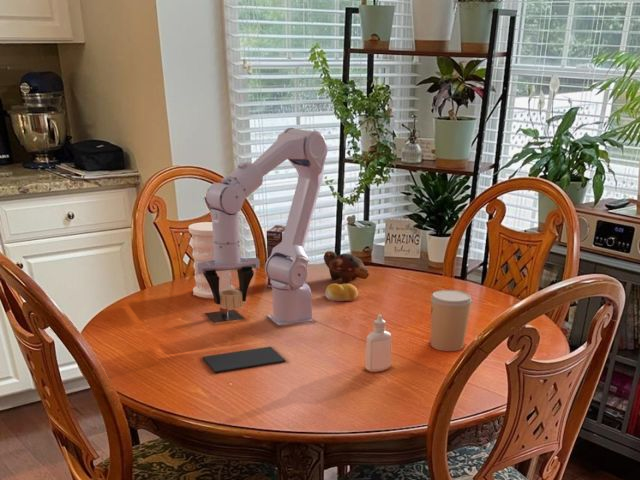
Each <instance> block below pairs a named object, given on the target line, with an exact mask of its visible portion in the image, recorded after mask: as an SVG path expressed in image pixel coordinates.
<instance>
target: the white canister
mask: <svg viewBox="0 0 640 480" xmlns="http://www.w3.org/2000/svg"><path fill="white" fill-rule="evenodd" d="M430 301H431V304H430V306H431V307H430V345H431V347H432V348H434V349H436V350H439V351H444V352H455V351H460V350H461V349H462V350H463V347H464V344H465V339H466V334H467V329H468V322H469V318H470V311H471V305H472V302H473V298H472V296H471V294H470V293H468V292H465V291H462V290H457V289H441V290H436V291H434V292H433V293H432V294H431V296H430Z"/></svg>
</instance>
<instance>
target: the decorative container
mask: <svg viewBox="0 0 640 480" xmlns="http://www.w3.org/2000/svg"><path fill="white" fill-rule="evenodd" d="M188 233H189V234H190V235H191V240H190V244H191V246H192V253H191V255H192V258H193V270H194V272H195V273H194V281H195V284H196V285H195V286H194V287H193V288H192V294H193V296H197V297H199V298H205V299H214V297H213V293H212V291H211V288H210V286H209V284H208V282H207V280H206V278H205V276H204V274H203V273H202V274H198V273H197V272H196V268H195V263H202V262H207V261H212V260H215V255H214V241H213V228H212V221H204V222H203V221H201V222H194V223H191V224H189V225H188ZM216 273H217V276H218V277H219V291H220V290H226V289H233V290H234V289H235V290H236V287H235V286H234V285H232V280H233V276H232V274H231V270H226V271H216Z"/></svg>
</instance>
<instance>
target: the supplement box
mask: <svg viewBox="0 0 640 480" xmlns="http://www.w3.org/2000/svg"><path fill="white" fill-rule="evenodd" d="M285 227H286V225H282V224H281V225H280V224H276V225H274V226H273V227H271V228H269V229H268V230H266V261H267V260H268V258H269V257H270V255H271V253H272V250H273V248H274V247H275V246H277V245H278V244H280V243H281V242H282V238H283V235H284V231H285ZM288 258H289V259H292V257H288ZM267 287H268V288H271V289H272V284H270V279H269V278H268V277H267Z"/></svg>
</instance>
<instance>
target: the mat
mask: <svg viewBox="0 0 640 480" xmlns="http://www.w3.org/2000/svg"><path fill="white" fill-rule="evenodd" d="M202 360H204V362H205V363H206V364H207V365H208V366H209V368H210V369H211V370H212V371H213V372H214V374H217V373H223V372H229V371H230V372H231V371H237V370H242V369H248V368H255V367H261V366H267V365H273V364H280V363H285V362H286V359H285V358H283V356H282V355H280V354H279V352H277V351H276V350H275V349H274V348H273V347H272V346H265V347H258V348H253V349H245V350H239V351H233V352H225V353H220V354H219V353H218V354H213V355H205V356H202Z"/></svg>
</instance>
